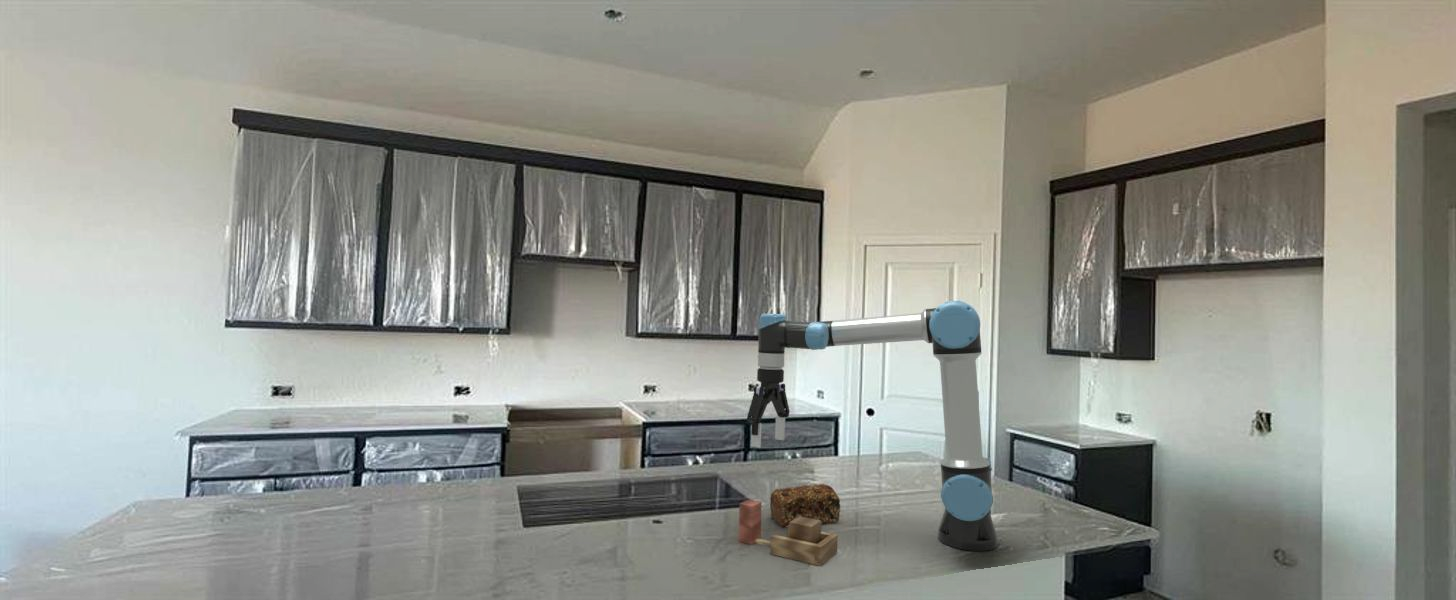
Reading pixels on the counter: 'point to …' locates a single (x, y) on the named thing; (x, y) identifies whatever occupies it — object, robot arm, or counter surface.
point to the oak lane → (805, 548)
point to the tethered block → (752, 526)
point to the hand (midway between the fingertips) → (768, 443)
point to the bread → (805, 504)
